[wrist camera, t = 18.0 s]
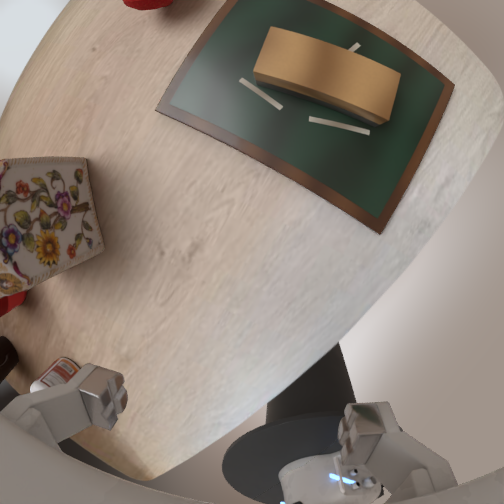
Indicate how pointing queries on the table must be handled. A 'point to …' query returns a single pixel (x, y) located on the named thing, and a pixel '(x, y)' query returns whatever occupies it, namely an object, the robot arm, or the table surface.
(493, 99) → the table surface
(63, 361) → the pill bottle
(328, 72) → the eraser
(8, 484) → the robot arm
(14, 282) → the decorative jar
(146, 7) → the strawberry
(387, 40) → the chalkboard
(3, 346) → the coffee mug
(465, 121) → the table surface
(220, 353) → the table surface
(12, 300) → the canned food
